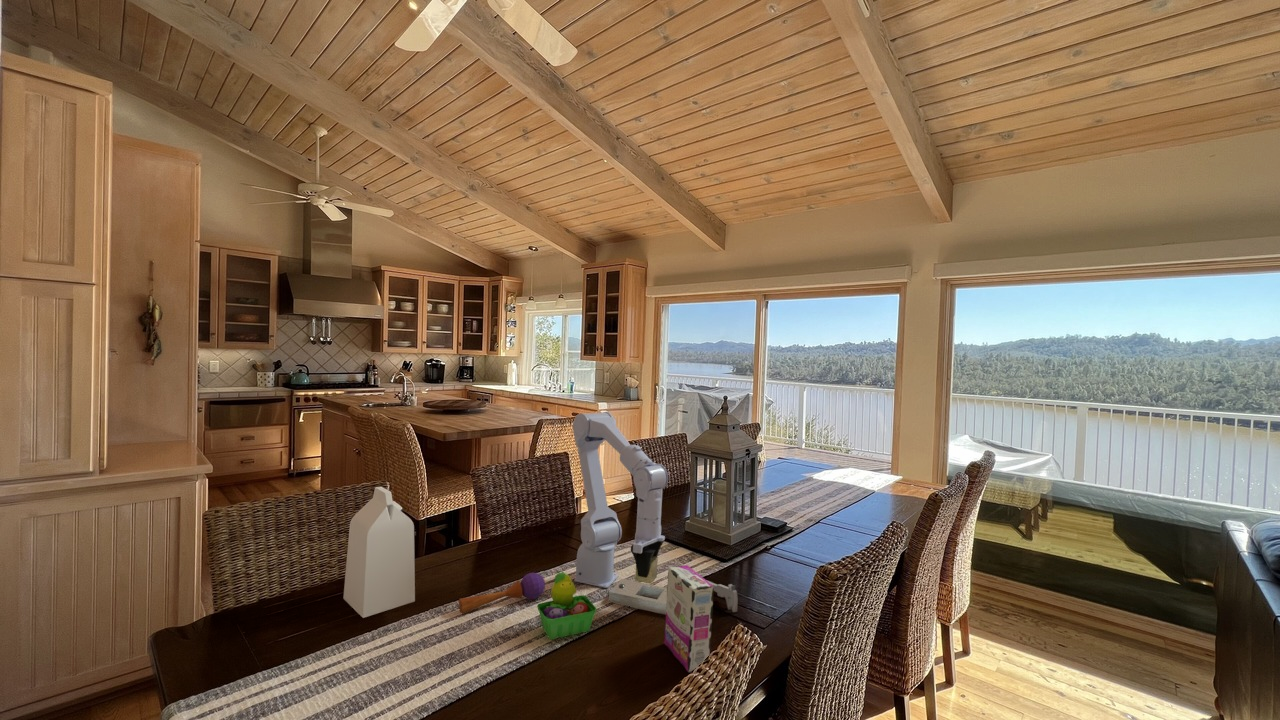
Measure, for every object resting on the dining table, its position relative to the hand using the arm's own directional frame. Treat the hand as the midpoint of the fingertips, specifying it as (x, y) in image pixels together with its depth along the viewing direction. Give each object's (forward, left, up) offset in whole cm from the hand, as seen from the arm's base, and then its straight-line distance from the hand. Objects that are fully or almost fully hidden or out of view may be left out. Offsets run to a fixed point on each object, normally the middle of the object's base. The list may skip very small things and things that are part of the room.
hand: (646, 572), depth 128 cm
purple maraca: (-31, -13, -9) cm, 34 cm away
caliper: (+13, +14, -9) cm, 21 cm away
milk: (-58, -23, -9) cm, 63 cm away
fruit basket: (-13, -16, -9) cm, 22 cm away
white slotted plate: (0, +3, -8) cm, 9 cm away
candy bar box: (+14, -15, -9) cm, 23 cm away
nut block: (0, 0, -2) cm, 2 cm away
